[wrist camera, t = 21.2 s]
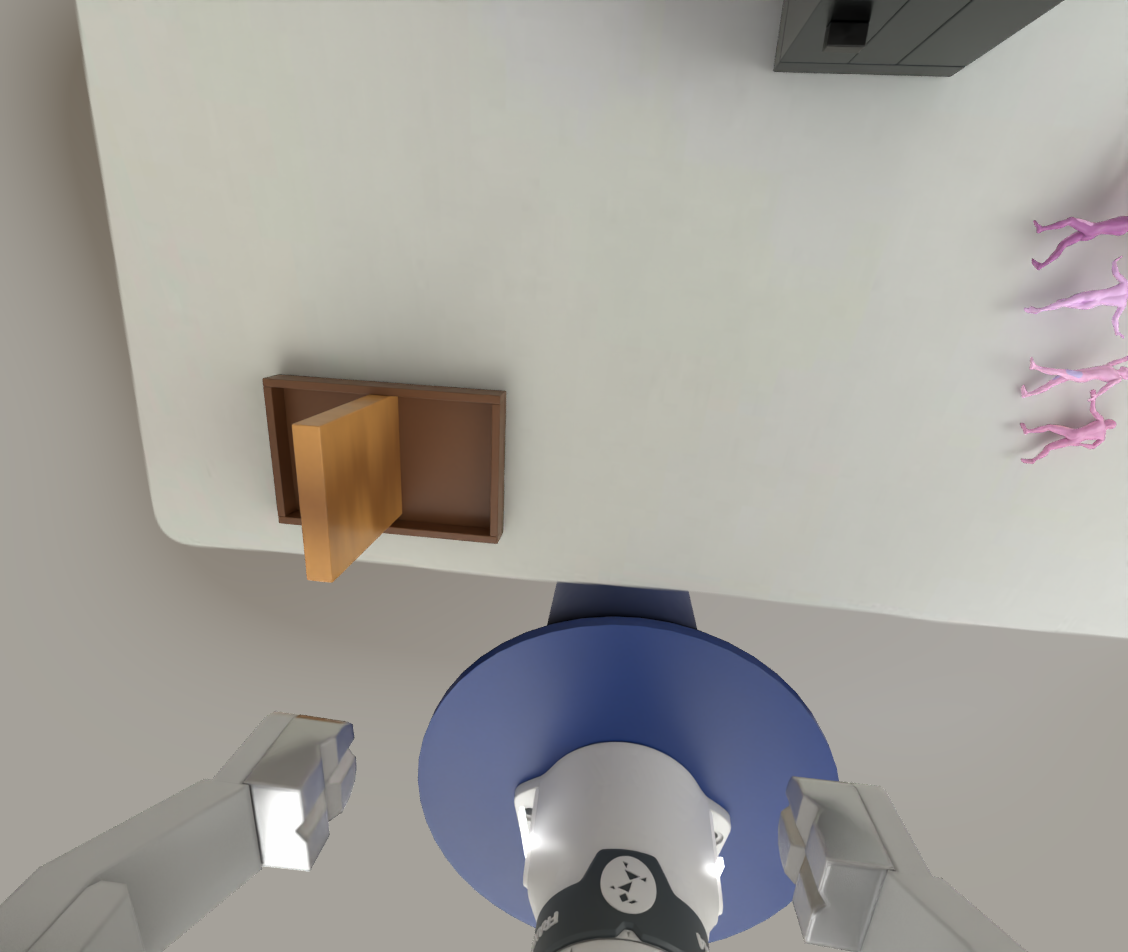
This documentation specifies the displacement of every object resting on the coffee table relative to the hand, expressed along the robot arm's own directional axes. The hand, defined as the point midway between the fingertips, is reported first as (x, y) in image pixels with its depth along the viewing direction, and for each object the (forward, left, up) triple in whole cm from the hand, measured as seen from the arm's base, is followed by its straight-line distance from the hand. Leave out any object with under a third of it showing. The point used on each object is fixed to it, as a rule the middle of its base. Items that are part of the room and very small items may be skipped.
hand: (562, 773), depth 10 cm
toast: (-4, +16, -30) cm, 35 cm away
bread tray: (-4, +16, -31) cm, 35 cm away
